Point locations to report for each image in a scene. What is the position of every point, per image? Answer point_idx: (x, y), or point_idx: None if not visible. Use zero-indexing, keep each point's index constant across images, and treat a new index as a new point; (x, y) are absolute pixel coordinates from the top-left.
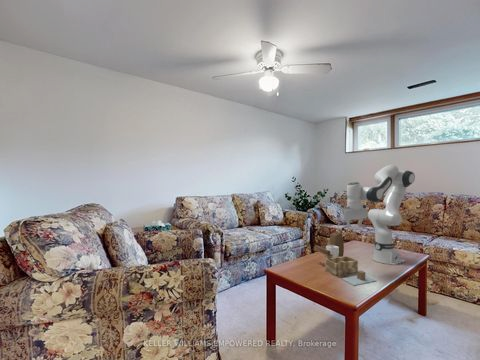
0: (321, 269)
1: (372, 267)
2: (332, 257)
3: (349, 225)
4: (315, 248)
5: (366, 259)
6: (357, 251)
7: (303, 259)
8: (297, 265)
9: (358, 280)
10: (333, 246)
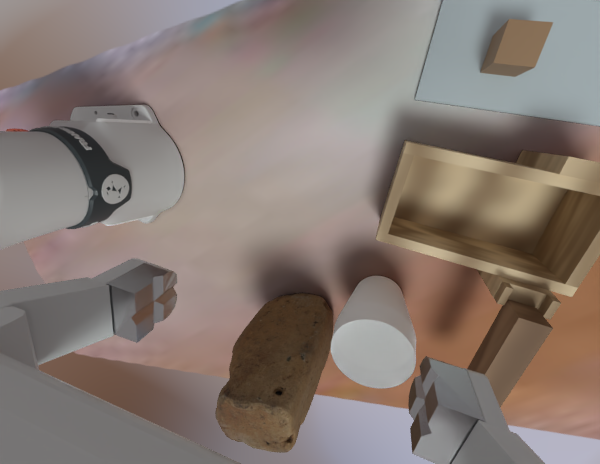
0: None
1: (264, 145)
2: (503, 277)
3: (488, 395)
4: None
5: (198, 221)
6: None
7: None
8: (592, 391)
9: (549, 46)
10: (335, 356)
